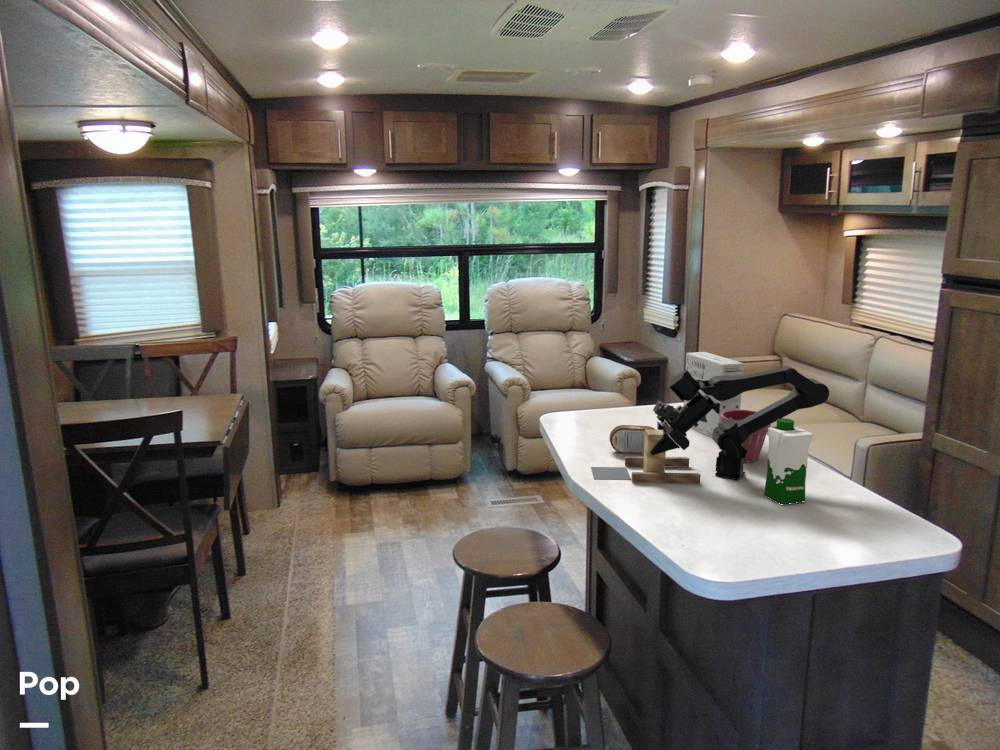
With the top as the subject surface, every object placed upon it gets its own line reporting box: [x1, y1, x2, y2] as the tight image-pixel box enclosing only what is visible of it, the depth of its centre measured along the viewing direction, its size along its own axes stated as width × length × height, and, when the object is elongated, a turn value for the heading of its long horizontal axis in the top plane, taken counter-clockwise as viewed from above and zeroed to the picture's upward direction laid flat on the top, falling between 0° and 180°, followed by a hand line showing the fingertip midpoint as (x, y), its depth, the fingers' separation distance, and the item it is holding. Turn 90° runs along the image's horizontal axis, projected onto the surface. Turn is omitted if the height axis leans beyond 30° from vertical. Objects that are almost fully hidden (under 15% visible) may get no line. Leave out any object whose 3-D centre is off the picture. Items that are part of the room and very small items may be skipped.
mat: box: [590, 466, 632, 481], centre depth 204 cm, size 10×10×1 cm
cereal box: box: [682, 351, 744, 439], centre depth 243 cm, size 22×8×25 cm, turn 17°
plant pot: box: [720, 409, 772, 463], centre depth 217 cm, size 14×14×13 cm
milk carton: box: [763, 417, 815, 505], centre depth 184 cm, size 9×9×20 cm
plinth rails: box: [624, 455, 702, 485], centre depth 204 cm, size 18×15×2 cm
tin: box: [609, 424, 657, 455], centre depth 221 cm, size 15×3×8 cm, turn 84°
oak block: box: [642, 429, 667, 473], centre depth 203 cm, size 5×5×12 cm
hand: (649, 450), depth 203 cm, fingers closed on oak block, 5 cm apart
